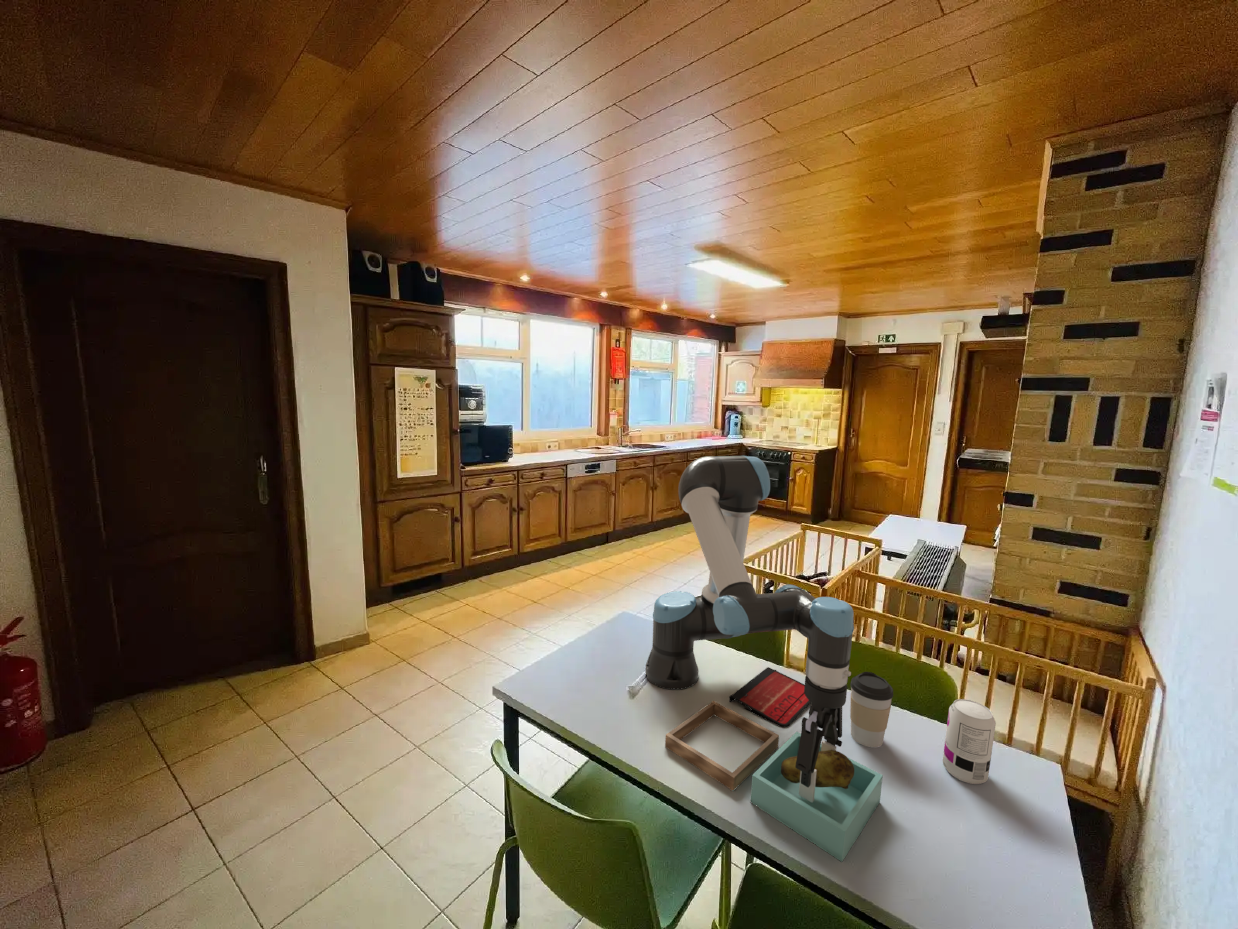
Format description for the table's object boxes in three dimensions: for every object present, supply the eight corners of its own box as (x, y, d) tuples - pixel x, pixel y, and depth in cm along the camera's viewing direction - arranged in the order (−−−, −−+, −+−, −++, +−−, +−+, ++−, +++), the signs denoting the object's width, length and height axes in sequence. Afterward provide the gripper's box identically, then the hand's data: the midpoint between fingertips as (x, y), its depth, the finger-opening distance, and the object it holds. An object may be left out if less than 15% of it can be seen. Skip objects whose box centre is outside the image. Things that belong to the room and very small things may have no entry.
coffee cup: (893, 754, 116) (899, 693, 114) (850, 747, 118) (856, 687, 116) (881, 728, 125) (887, 671, 123) (842, 723, 127) (847, 666, 125)
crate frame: (665, 746, 117) (665, 734, 116) (713, 711, 130) (713, 700, 130) (733, 791, 104) (733, 777, 104) (778, 747, 118) (779, 735, 117)
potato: (790, 759, 109) (793, 725, 107) (855, 789, 101) (859, 752, 100) (776, 783, 102) (779, 746, 101) (844, 816, 94) (848, 777, 93)
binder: (729, 695, 134) (767, 665, 150) (728, 703, 135) (766, 673, 150) (786, 725, 124) (821, 690, 139) (785, 734, 124) (820, 698, 139)
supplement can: (933, 764, 113) (941, 702, 111) (958, 755, 117) (966, 694, 114) (971, 791, 106) (980, 724, 104) (996, 780, 109) (1005, 715, 107)
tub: (750, 802, 102) (752, 775, 101) (794, 756, 115) (796, 731, 114) (842, 862, 89) (845, 831, 88) (879, 802, 102) (882, 775, 101)
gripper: (821, 712, 88) (811, 828, 91) (866, 666, 103) (856, 768, 106) (781, 693, 93) (772, 803, 97) (829, 652, 108) (821, 749, 112)
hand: (816, 785), depth 101 cm, fingers closed on potato, 8 cm apart
